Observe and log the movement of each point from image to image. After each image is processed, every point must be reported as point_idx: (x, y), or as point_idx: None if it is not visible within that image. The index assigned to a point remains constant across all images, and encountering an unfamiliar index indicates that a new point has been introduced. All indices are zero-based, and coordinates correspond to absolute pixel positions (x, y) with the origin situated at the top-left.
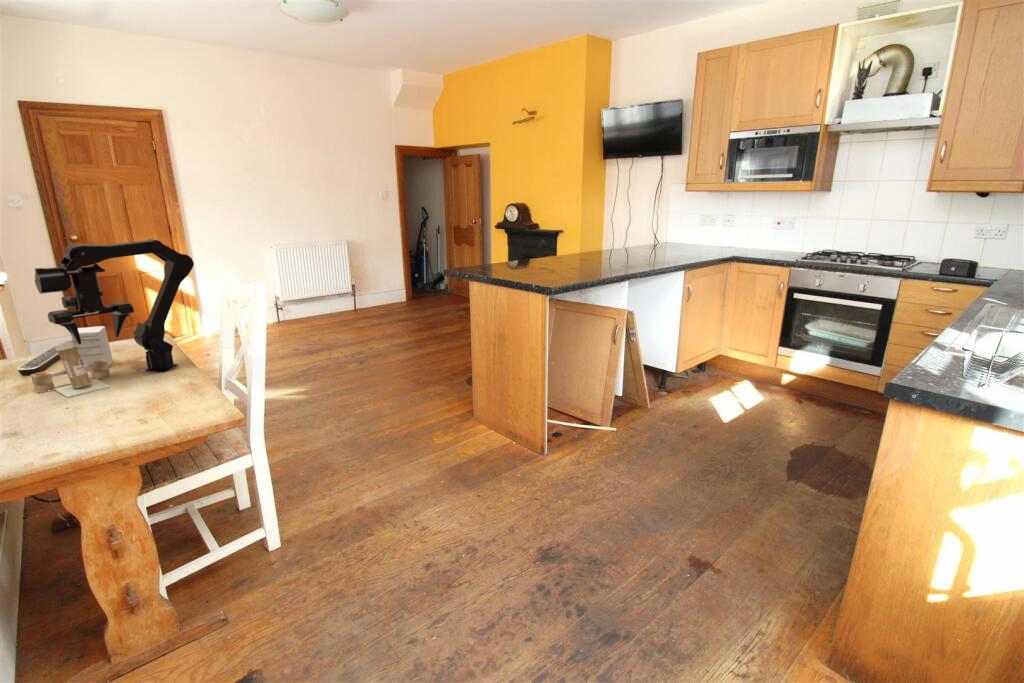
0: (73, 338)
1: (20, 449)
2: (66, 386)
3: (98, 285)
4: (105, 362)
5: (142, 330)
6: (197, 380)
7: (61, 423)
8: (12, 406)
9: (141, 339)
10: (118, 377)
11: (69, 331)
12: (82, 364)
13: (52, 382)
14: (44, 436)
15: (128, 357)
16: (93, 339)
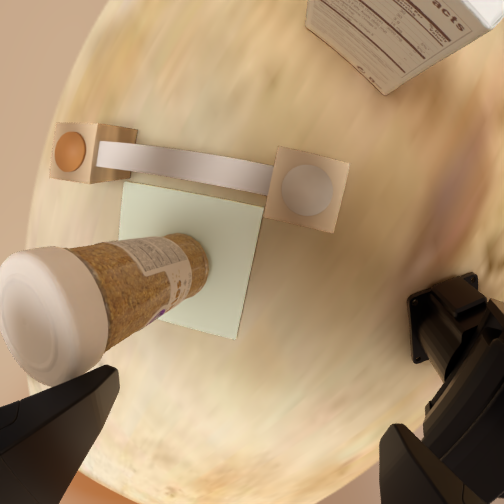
0: None
1: None
2: (155, 197)
3: None
4: (324, 228)
5: (476, 474)
6: (366, 461)
7: None
8: (33, 224)
9: (439, 448)
10: (324, 262)
11: (2, 418)
12: (155, 319)
13: (111, 179)
14: None
15: (486, 62)
16: (423, 12)
